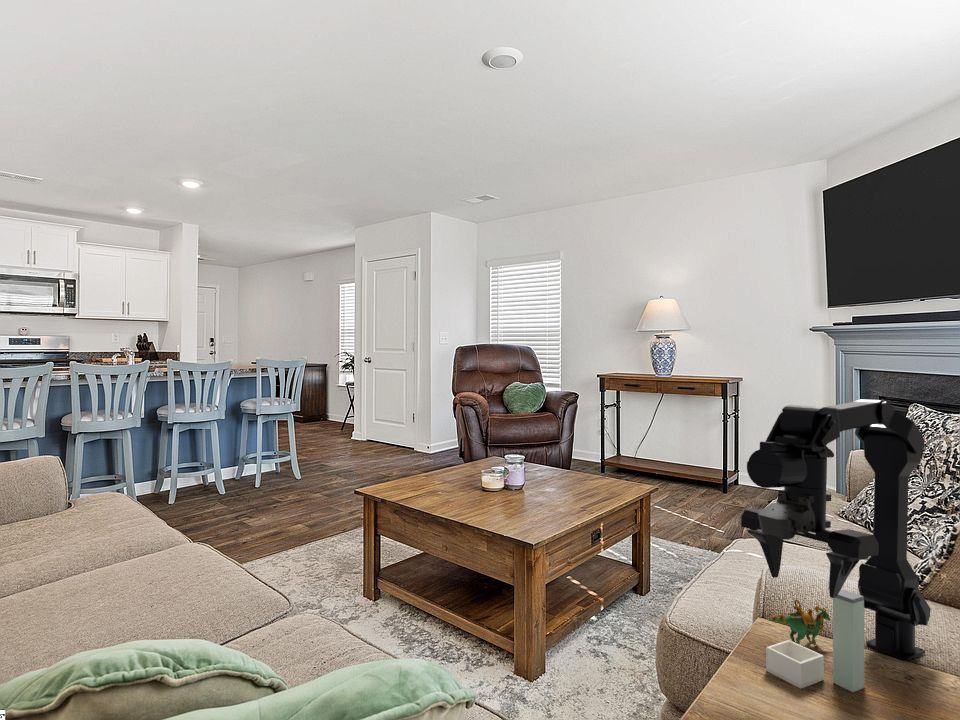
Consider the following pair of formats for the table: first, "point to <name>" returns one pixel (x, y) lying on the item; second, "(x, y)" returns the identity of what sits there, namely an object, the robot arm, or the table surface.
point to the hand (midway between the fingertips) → (802, 586)
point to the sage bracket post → (848, 640)
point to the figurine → (803, 622)
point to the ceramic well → (795, 663)
